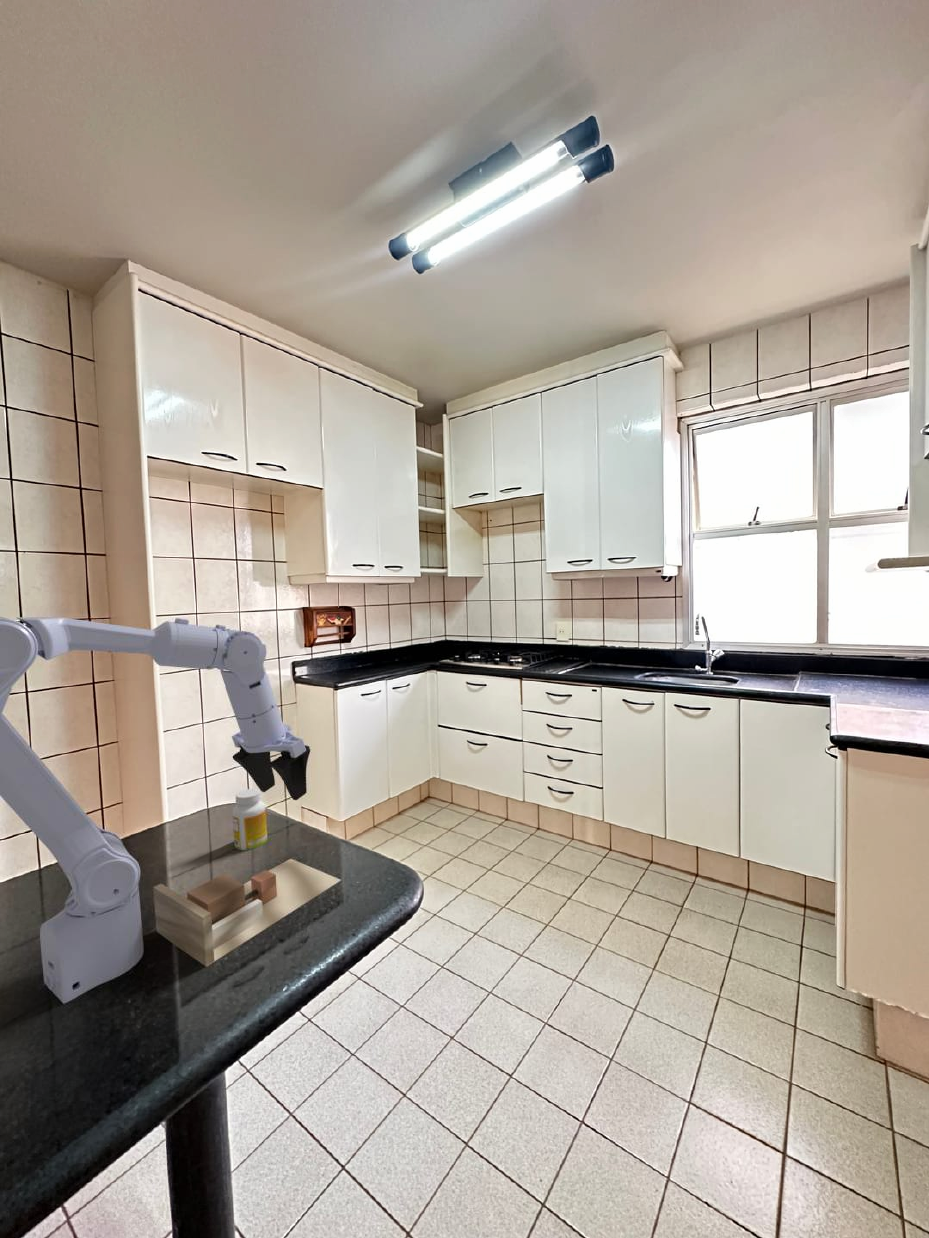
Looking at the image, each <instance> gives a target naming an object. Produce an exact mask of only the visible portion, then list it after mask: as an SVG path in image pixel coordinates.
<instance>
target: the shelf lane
mask: <svg viewBox="0 0 929 1238" xmlns="http://www.w3.org/2000/svg"><path fill="white" fill-rule="evenodd" d="M268 871H269V872H271V873H273V874H276V886H277V896H276V897H274V898H273V899H271V900H269V901H268V902H266V903H264V904H263V905H262V901H261V900H259V899H257V900H253V899H252V898H250V899H248V900H247V901H245V906H244V907H243V908H241V909H239V910H238V911H236V912H234V913H232V914H231V915H229V916H227V917H225V918H224V919H222V920H220V921H219V922H217V923H215V924H213V925H212V920H211V913H210V912H208V911H207V910H205V909H203V908H201V907H200V906H198V905H196V904H195V903H193V902H191V901H190V900H188V899H187V897H185V896H184V895H181V894H180V893H178V892H176V891H175V890H173V889H171V888H170V887H168V886H166V885H164V884H163V883H159V884H157V885H155V886H153V890H152V891H153V901H154V911H155V914H154V915H155V924H156V926H155V927H156V933H158V934H160V935H161V936H162V937H164V938H165V939H167V940H168V941H169V942H171V943H172V944H174V945H175V946H177V947H178V948H179V949H181V950H182V951H183V952H185V953H186V954H188V955H189V956H191V958H193V959H195V960H196V961H198V962H199V963H200V964H202V965H203V966H204V967H209V966H210V965H212V964H213V963H215V962H216V961H218V960H219V959H221V958H223V957H224V956H226V955H227V954H228V953H230V952H232V951H233V950H235V949H236V948H238V947H240V946H241V945H243V944H244V943H247V942H248V941H249V940H251V939H252V938H253V937H255V936H257V935H258V934H260V933H262V932H263V931H264V930H266V929H267V928H269V927H271V926H273V925H274V924H275V923H277V922H279V921H280V920H282V919H284V918H285V917H286V916H287V915H289V914H291V913H292V912H294V911H296V910H297V909H299V908H300V907H302V906H303V905H305V904H307V903H308V902H309V901H311V900H313V899H315V897H317V896H319V895H320V894H323V892H325V891H327V890H328V889H330V888H331V887H333V886H334V885H336V884H337V883H339V882H340V881H342V879H339V878H338V877H336V876H333V875H330V874H328V873H325V872H324V871H321V870H319V869H316V868H314V867H311V866H309V865H307V864H304V863H303V862H299V861H297V860H295V859H293V858H290V859H288V860H286V861H284V862H282V863H281V864H280V863H279V865H276V866H275V867H273V868H271V869H269V870H268ZM244 891H245V895H247V894H248V893H250V892H252V887H251V879H250V880H249V881H246V882H245V883H244Z"/></svg>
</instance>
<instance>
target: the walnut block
mask: <svg viewBox="0 0 929 1238" xmlns="http://www.w3.org/2000/svg"><path fill="white" fill-rule="evenodd" d="M250 880H251V887H252V892H250V893H248V894H247V895H245V891H244V884H245V883H244V884H243V883H242V882H239V881H238V880H236V879H235V878H232V877H230V876H228V875H226V874H220V875H218V876H217V877H214V878H212V879H210V880H208V881H207V882H205V883H203V884H201V885H198V886H197V887H194V888H193V889H190V890H189V891H187V892H186V896H187V897H186V899H188V900H190V901H191V902H193V903H195V904H196V905H198V906H200V907H201V908H203V909H205V910H207V911H208V912H210V913H211V920H212V925H213V924H215V923H217V922H219V921H220V920H222V919H224V918H225V917H227V916H229V915H231V914H232V913H234V912H236V911H238V910H239V909H241V908H243V907H244V906H245V901H247V900H248V899H250V898H252V899H253V900H257V899H259V900H261V901H262V905H263V904H264V903H266V902H268V901H269V900H271V899H273V898H274V897H276V896H277V886H276V874H273V873H271V872H269V870H267V869H264V870H263V871H261V872H259V873H257V874H255V875H253V876H251V877H250Z"/></svg>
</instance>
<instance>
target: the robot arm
mask: <svg viewBox="0 0 929 1238" xmlns="http://www.w3.org/2000/svg"><path fill="white" fill-rule="evenodd" d="M16 619H17V620H19V621H21V622H22V623H21V622H19V621H17V620H14V619H10V618H7V617H3V616H0V797H1V799H3V800H4V801H5V803H6V804H7V805H8V806H9V808H11V810H12V811H13V812H14V813H15V814H16V815H17V816H18V817H19V818H20V819H21V821H23V823H24V824H25V825H26V826H27V827H28V829H30V830H31V832H32V833H33V834H34V835H35V836H36V837H37V839H39V840H40V842H41V843H42V844H43V845H44V846H45V847H46V848H47V850H49V852H50V853H51V854H52V857H54V859H55V860H56V862H57V863H58V865H59V866H60V867H61V869H62V870H63V873H64V875H65V876H66V878H67V879H68V881H69V884H70V887H71V888H72V889H71V890H70V893H69V894H68V896H67V898H66V899H67V900H65V902H64V908H63V909H62V910H61V911H59V913H58V914H56V915H55V916H53V917H52V918H50V919H48V920H46V921H45V922H43V923H42V924H41V925H40V929H39V941H40V952H41V953H40V954H41V963H42V964H41V965H42V974H43V982H44V984H45V985H46V986H47V988H48V989H49V990H50V991H51V992H53V994H54V995H55V996H56V997H57V998H58V999H59V1000H60V1002H62V1004H64V1005H65V1004H66V1003H69V1002H70V1001H72V1000H74V999H76V998H77V997H79V996H81V995H83V994H85V993H87V992H88V991H90V990H92V989H94V988H96V987H97V986H99V985H102V984H105V983H107V982H109V981H111V980H114V979H116V978H117V977H120V976H121V975H123V974H125V973H126V972H128V971H130V970H131V969H132V968H133V967H134V966H136V965H137V964H138V963H139V962H140V960H141V958H142V957H143V955H144V951H145V950H144V949H145V948H144V940H143V928H142V926H143V925H142V915H141V913H142V912H141V902H140V901H141V900H140V891H139V890H140V889H139V888H140V887H139V883H140V877H141V868H140V865H139V862H138V861H137V860H136V858H134V857H133V856H132V855H131V854H130V853H129V852H128V850H127V849H126V847H125V845H124V843H123V841H122V839H121V838H120V836H119V835H118V834H116V833H114V832H113V831H109V830H105V829H103V828H101V826H100V827H99V826H98V824H96V823H95V821H94V820H93V818H91V817H90V816H89V815H88V814H87V813H86V812H85V811H84V809H83V808H82V807H81V806H80V804H79V803H78V802H77V801H76V800H75V798H73V796H72V795H71V794H70V792H69V791H67V789H66V788H65V787H64V785H63V784H62V783H61V782H60V781H59V780H58V778H57V777H56V776H55V775H54V774H53V772H52V771H51V770H50V769H49V768H48V766H47V765H46V764H45V763H44V762H43V760H42V759H41V758H40V757H39V756H38V755H37V753H36V751H34V750H33V748H32V747H31V746H30V745H29V744H28V743H27V741H26V740H25V739H24V738H23V737H22V735H21V734H20V733H19V732H18V730H17V729H16V728H15V727H14V726H13V724H12V723H11V722H10V721H9V719H8V718H6V716H5V715H4V714H3V711H4V709H5V707H6V704H7V701H8V699H9V697H10V695H11V692H12V690H13V687H14V685H15V684H16V683H17V682H18V681H19V680H20V679H21V677H23V675H25V674H26V672H27V671H28V670H29V668H31V666H32V665H33V664H34V663H35V660H36V659H37V657H40V658H42V659H44V660H46V661H48V660H49V661H50V660H51V659H54V658H56V657H60V656H61V655H64V654H66V653H69V652H71V651H76V650H78V651H90V652H91V651H92V652H93V651H95V652H107V653H110V652H111V653H125V654H139V655H140V654H141V655H149V657H150V658H152V660H153V661H154V662H155V663H156V664H157V665H158V666H160V667H169V668H170V667H172V668H186V669H198V670H199V669H200V670H214V669H217V670H219V672H220V674H221V678H222V680H223V682H224V686H225V687H224V688H225V691H226V694H227V697H228V699H229V702H230V706H231V708H232V711H233V715H234V717H235V720H236V722H237V725H238V728H239V732H237V733H235V734H233V735H232V736H231V739H232V741H233V744H234V748H237V749H239V751H237V752H236V753H235V754H233V756H232V760H234V761H235V762H236V763H237V764H238V765H239V766H241V767H242V768H243V769H244V770H245V771H246V772H247V773H248V775H249V776H250V778H251V779H252V780H253V782H254V783H255V784H256V786H257V788H258V790H260V792H261V793H266V792H267V791H268V790H270V789H271V788H273V787H274V786H276V781H275V780H276V779H275V775H274V771H275V772H276V774H278V775H279V777H280V778H281V780H282V782H283V783H284V785H285V788H286V790H287V792H288V794H289V796H290V797H291V798H292V800H293V801H298V800H299V799H301V798H302V797H303V796H305V795H306V794H307V768H308V767H307V766H308V761H309V757H310V753H311V748H310V746H309V745H305V743H304V739H303V738H300V737H297V736H296V735H295V734H293V733H292V732H290V731H291V730H292V726H291V724H286V723H285V724H284V723H283V719H282V716H281V714H280V710H279V707H278V704H277V701H276V698H275V695H274V692H273V688H272V686H271V685H272V684H271V681H270V679H269V676H268V673H267V671H266V667H265V664H264V663H265V661H266V657H267V645H266V644H264V643H262V640H261V639H260V638H259V637H258V636H256V635H255V634H254V633H253V632H250V631H247V630H246V631H245V630H236V629H233V630H232V629H230V628H227V626H226V625H221V624H216V625H215V626H214V627H212V626H205V625H197V624H191V623H190V620H189V619H187V618H178V617H176V618H174V619H175V620H174V621H164V622H162V623H161V624H158V626H156V627H155V628H153V629H146V628H140V627H139V628H138V627H131V626H124V625H116V624H110V623H103V622H96V621H88V620H82V619H76V618H75V619H74V618H66V617H59V616H58V617H56V616H52V617H51V616H50V617H48V616H45V617H44V616H43V617H42V616H41V617H40V616H38V617H37V616H35V617H34V616H33V617H31V616H29V617H27V616H26V617H25V616H24V617H22V616H21V617H20V616H19V617H16ZM271 752H277V753H280V756H278V757H277V758H275V759H274V760H271ZM75 984H77V985H76V986H74V985H75ZM73 986H74V987H73Z"/></svg>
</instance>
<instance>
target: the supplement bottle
mask: <svg viewBox="0 0 929 1238" xmlns="http://www.w3.org/2000/svg"><path fill="white" fill-rule="evenodd" d="M235 803H236V805H235V806H234V807H233V809H232V828H233V843H234V844H233V845H234V848H235V849H236V850H239V851H240V850H241V851H247V850H248V851H249V850H253V849H256V848H259V847H261V846H263V845H264V844H266V843H267V842H268V830H267V829H268V827H267V814H266V804H265V803H264V801H262V800H261V790H260V789H259V788H258V789H257V788H250V789H249V788H248V789H243V790H240V791H238V792H237V793H236V794H235Z"/></svg>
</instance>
